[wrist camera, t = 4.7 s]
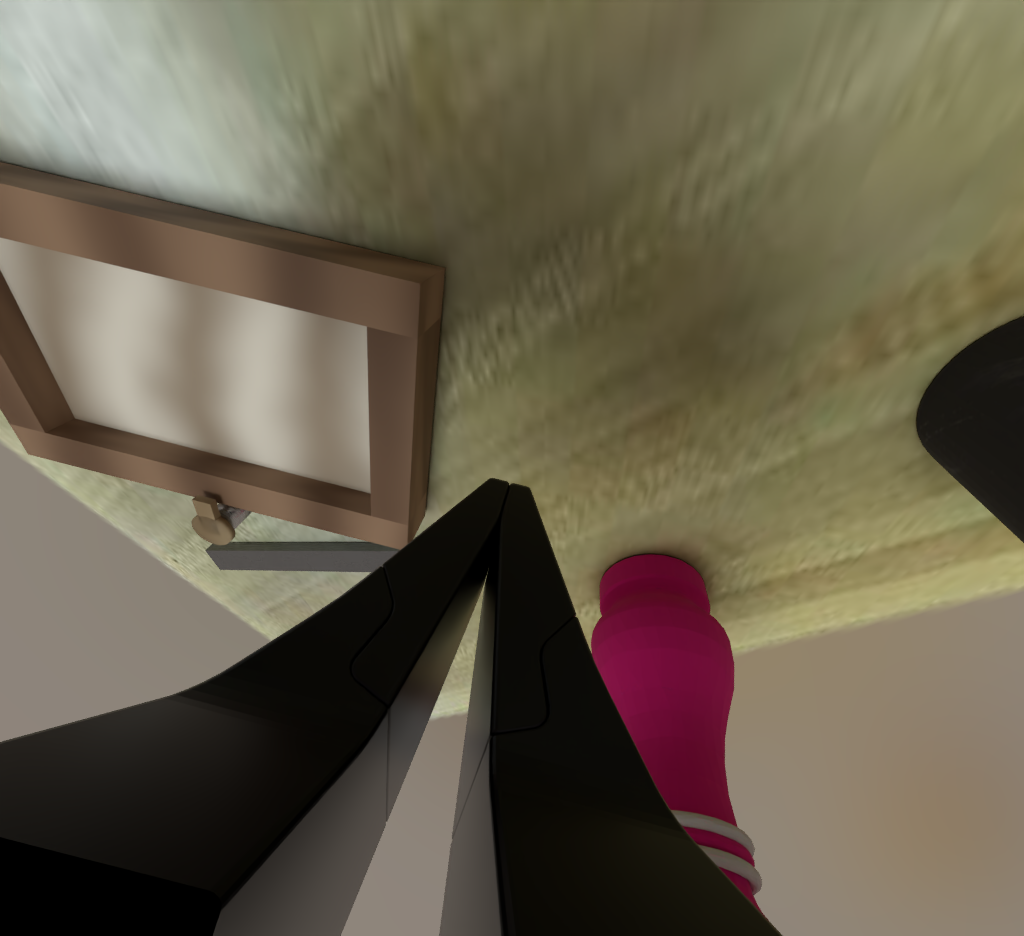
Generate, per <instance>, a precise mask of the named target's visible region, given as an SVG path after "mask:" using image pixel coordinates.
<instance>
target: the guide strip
mask: <svg viewBox="0 0 1024 936" xmlns="http://www.w3.org/2000/svg"><path fill="white" fill-rule="evenodd" d="M205 551H206V552H207V553H208V555H209V556H210V557H211V558H212V560H213V561H214V562H215V564H216V565H217V566H218V567H219V569H220V570H276V571H339V572H373V571H374V570H375V569H377V568H378V567H379V566H382V565H383V563H384V562H386V561H387V560H388V559H389V558H391V557H392V556H393V555H394V554H396V553H397V552H398V551H399V549H396V548H392V547H388V546H384V545H380V544H376V543H372V542H361V543H228V544H226V545H216V544H212V545H211V546H210V547H209V548H207V549H206V550H205Z"/></svg>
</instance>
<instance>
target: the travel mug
mask: <svg viewBox="0 0 1024 936" xmlns="http://www.w3.org/2000/svg"><path fill="white" fill-rule="evenodd" d="M917 430H918V435H919V438H920V440H921V442H922V444H923V446H924V447H925V448H926V450H927V451H928V452H929V453H930V454H931V456H932V457H933V458H934V459H935V460H936V461H937V462H938V463H939V464H940V465H942V466H943V467H944V468H945V469H946V470H947V471H948V472H949V473H950V474H951V475H952V476H953V477H954V478H955V479H956V480H957V481H958V482H959V483H960V484H961V485H963V486H964V487H965V488H966V489H967V490H968V491H969V492H970V493H971V494H972V495H973V496H974V497H975V498H976V499H977V500H979V501H980V502H981V503H982V504H983V505H984V506H985V507H986V508H987V509H988V510H989V511H990V512H991V513H992V514H993V515H995V516H996V517H997V518H998V519H999V520H1000V521H1001V522H1002V523H1003V524H1004V525H1005V526H1006V527H1007V528H1008V529H1009V530H1011V531H1012V532H1013V533H1014V534H1015V535H1016V536H1017V537H1018V538H1019V539H1020V540H1021V541H1022V542H1023V543H1024V317H1022V318H1020V319H1017V320H1015V321H1012V322H1010V323H1008V324H1006V325H1004V326H1002V327H1000V328H998V329H996V330H994V331H992V332H990V333H989V334H987V335H985V336H984V337H982V338H980V339H979V340H977V341H976V342H974V343H973V344H972V345H970V346H969V347H967V348H966V349H965V350H963V351H962V352H961V353H960V354H959V355H957V356H956V357H955V358H954V359H953V360H952V361H951V362H950V363H949V364H948V365H947V366H945V367H944V368H943V370H942V371H941V372H940V373H939V374H938V375H937V377H936V378H935V379H934V380H933V382H932V383H931V385H930V386H929V388H928V389H927V391H926V393H925V395H924V397H923V399H922V401H921V404H920V407H919V410H918V415H917Z"/></svg>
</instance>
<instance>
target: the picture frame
mask: <svg viewBox="0 0 1024 936" xmlns="http://www.w3.org/2000/svg"><path fill="white" fill-rule="evenodd" d="M444 276H445V268H444V267H439V266H435V265H431V264H427V263H423V262H418V261H414V260H410V259H406V258H402V257H397V256H393V255H389V254H385V253H381V252H376V251H372V250H368V249H364V248H360V247H355V246H351V245H347V244H343V243H339V242H334V241H330V240H326V239H322V238H318V237H313V236H309V235H305V234H301V233H297V232H292V231H288V230H284V229H280V228H276V227H271V226H267V225H263V224H259V223H255V222H250V221H246V220H242V219H238V218H234V217H229V216H225V215H221V214H217V213H213V212H208V211H204V210H200V209H196V208H192V207H187V206H183V205H179V204H175V203H171V202H166V201H162V200H158V199H154V198H150V197H145V196H141V195H137V194H133V193H129V192H124V191H120V190H116V189H112V188H108V187H103V186H99V185H95V184H91V183H87V182H82V181H78V180H74V179H70V178H66V177H61V176H57V175H53V174H49V173H45V172H40V171H36V170H32V169H28V168H24V167H19V166H15V165H11V164H7V163H3V162H0V409H1V411H2V412H3V414H4V415H5V417H6V419H7V420H8V422H9V424H10V425H11V427H12V428H13V430H14V432H15V433H16V435H17V437H18V438H19V440H20V441H21V443H22V445H23V446H24V448H25V450H26V451H27V453H28V454H30V455H33V456H37V457H41V458H45V459H49V460H53V461H57V462H61V463H65V464H69V465H72V466H76V467H80V468H84V469H88V470H92V471H96V472H100V473H104V474H107V475H111V476H115V477H119V478H123V479H127V480H131V481H135V482H139V483H143V484H146V485H150V486H154V487H158V488H162V489H166V490H170V491H174V492H178V493H181V494H185V495H189V496H193V497H195V498H194V499H192V501H193V504H194V506H195V509H196V512H197V516H196V517H194V518H193V520H192V527H193V529H194V530H195V531H196V533H197V534H198V535H199V536H200V537H202V538H203V539H205V540H206V541H208V542H210V543H213V544H216V545H226V544H228V543H229V542H230V541H231V540H232V539H233V538H234V537H235V530H234V528H233V526H232V525H231V524H230V523H229V522H228V521H227V520H226V519H225V518H223V517H222V516H221V515H220V512H219V509H218V506H217V503H220V504H224V505H228V506H232V507H236V508H240V509H244V510H248V511H252V512H255V513H259V514H263V515H267V516H271V517H275V518H279V519H283V520H287V521H290V522H294V523H298V524H302V525H306V526H310V527H314V528H318V529H322V530H326V531H329V532H333V533H337V534H341V535H345V536H349V537H353V538H357V539H361V540H364V541H368V542H372V543H376V544H380V545H384V546H388V547H392V548H396V549H399V550H401V549H402V548H403V547H405V546H406V545H407V544H408V543H410V542H411V541H412V540H413V538H414V536H415V534H416V532H417V530H418V528H419V526H420V524H421V522H422V520H423V518H424V516H425V509H426V497H427V484H428V472H429V460H430V448H431V436H432V423H433V411H434V399H435V387H436V374H437V362H438V350H439V338H440V325H441V313H442V301H443V289H444Z"/></svg>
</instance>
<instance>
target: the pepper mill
mask: <svg viewBox="0 0 1024 936" xmlns="http://www.w3.org/2000/svg"><path fill="white" fill-rule="evenodd" d="M600 612H601V614H602V617H601V618H600V619H599V621H598V622H597V624H596V626H595V628H594V630H593V634H592V639H591V648H592V656H593V659H594V661H595V664H596V666H597V668H598V670H599V672H600V674H601V676H602V678H603V681H604V683H605V685H606V687H607V689H608V691H609V693H610V695H611V697H612V699H613V701H614V703H615V705H616V707H617V709H618V711H619V713H620V715H621V717H622V719H623V721H624V723H625V725H626V727H627V729H628V731H629V733H630V735H631V737H632V739H633V741H634V743H635V745H636V747H637V749H638V751H639V753H640V755H641V757H642V759H643V761H644V763H645V765H646V767H647V769H648V771H649V773H650V775H651V777H652V779H653V781H654V782H655V784H656V786H657V788H658V790H659V792H660V794H661V795H662V797H663V799H664V800H665V802H666V804H667V805H668V807H669V808H670V810H671V811H672V813H673V814H674V816H675V817H676V819H677V820H678V821H679V823H680V824H681V825H682V827H683V828H684V829H685V830H686V832H687V833H688V834H689V836H690V837H691V838H692V839H693V840H694V841H695V842H696V843H697V845H698V846H699V847H700V848H701V849H702V850H703V851H704V852H705V853H706V854H707V855H708V856H709V857H710V858H711V860H712V861H713V862H714V863H715V864H716V865H717V866H718V867H719V868H720V869H721V870H722V871H723V872H724V873H725V875H726V876H727V877H728V878H729V879H730V880H731V881H732V882H733V883H734V884H735V885H736V886H737V887H738V888H739V890H740V891H741V892H742V893H743V894H744V895H745V896H746V897H747V898H748V899H749V900H750V901H751V902H752V903H753V905H754V906H755V907H756V908H757V909H758V910H759V911H760V912H761V910H760V908H759V907H758V905H757V903H756V901H755V898H754V896H753V895H755V894H756V893H757V892H759V891H760V889H761V886H762V879H761V877H760V874H759V873H758V871H757V870H756V869H755V868H754V866H755V865H754V860H753V858H752V857H753V855H754V850H755V849H754V845H753V843H752V841H751V839H750V838H749V837H748V835H747V834H745V832H744V831H742V830H741V829H739V828H738V827H737V824H736V820H735V817H734V813H733V810H732V806H731V802H730V799H729V795H728V786H727V779H726V771H725V734H726V727H727V720H728V714H729V710H730V705H731V700H732V696H733V691H734V661H733V656H732V651H731V645H730V641H729V638H728V636H727V634H726V632H725V630H724V628H723V627H722V626H721V625H720V624H719V622H718V621H717V620H716V619H715V618H714V617H712V616H711V615H710V604H709V600H708V596H707V592H706V588H705V584H704V581H703V579H702V577H701V576H700V574H699V573H698V572H697V571H696V570H695V569H694V568H693V567H691V566H690V565H688V564H686V563H685V562H683V561H682V560H679V559H676V558H672V557H669V556H666V555H654V554H648V555H638V556H633V557H630V558H627V559H624V560H622V561H620V562H618V563H616V564H614V565H613V566H612V567H611V568H610V569H609V570H608V571H607V572H606V573H605V574H604V576H603V577H602V580H601V582H600ZM761 913H762V912H761ZM762 914H763V913H762ZM764 916H765V915H764ZM767 920H768V919H767ZM768 921H769V920H768Z"/></svg>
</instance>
